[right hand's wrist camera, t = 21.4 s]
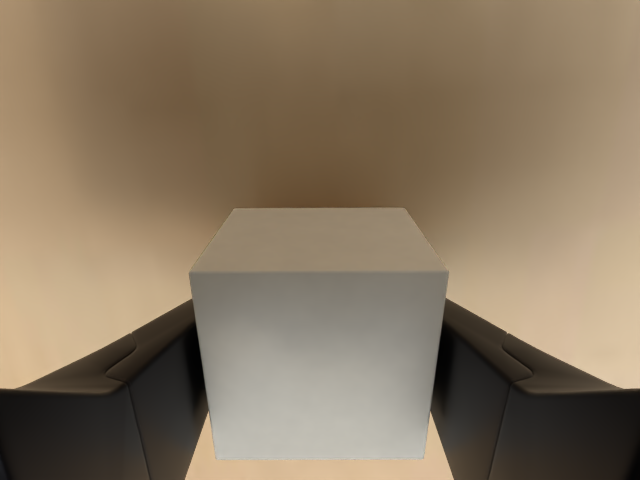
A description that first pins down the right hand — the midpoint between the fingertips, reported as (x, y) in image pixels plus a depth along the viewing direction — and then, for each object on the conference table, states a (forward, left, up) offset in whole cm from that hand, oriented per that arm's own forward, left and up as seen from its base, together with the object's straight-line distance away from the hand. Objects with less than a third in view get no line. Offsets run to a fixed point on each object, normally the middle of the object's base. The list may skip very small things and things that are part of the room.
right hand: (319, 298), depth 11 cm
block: (0, 0, -1) cm, 1 cm away
